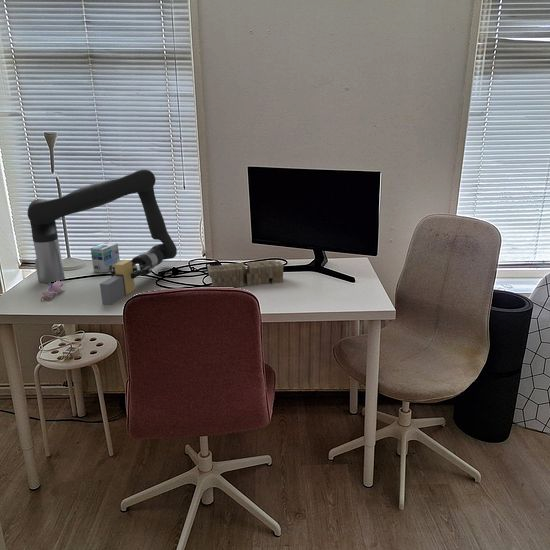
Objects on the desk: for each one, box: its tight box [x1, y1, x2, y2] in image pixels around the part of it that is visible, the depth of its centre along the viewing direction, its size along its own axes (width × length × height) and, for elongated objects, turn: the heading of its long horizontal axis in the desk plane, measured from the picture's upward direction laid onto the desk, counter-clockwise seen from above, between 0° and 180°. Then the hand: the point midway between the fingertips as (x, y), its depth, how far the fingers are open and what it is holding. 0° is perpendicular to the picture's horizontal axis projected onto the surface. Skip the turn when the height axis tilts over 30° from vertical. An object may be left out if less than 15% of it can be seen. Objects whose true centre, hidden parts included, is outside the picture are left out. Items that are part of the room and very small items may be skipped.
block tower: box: [207, 259, 284, 288], centre depth 196 cm, size 8×8×29 cm
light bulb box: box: [90, 241, 121, 273], centre depth 216 cm, size 11×7×11 cm, turn 160°
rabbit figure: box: [40, 280, 66, 302], centre depth 188 cm, size 6×6×15 cm
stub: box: [114, 259, 136, 296], centre depth 188 cm, size 6×4×12 cm, turn 163°
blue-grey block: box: [99, 274, 127, 306], centre depth 181 cm, size 10×4×8 cm, turn 163°
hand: (121, 275), depth 186 cm, fingers open, 8 cm apart
